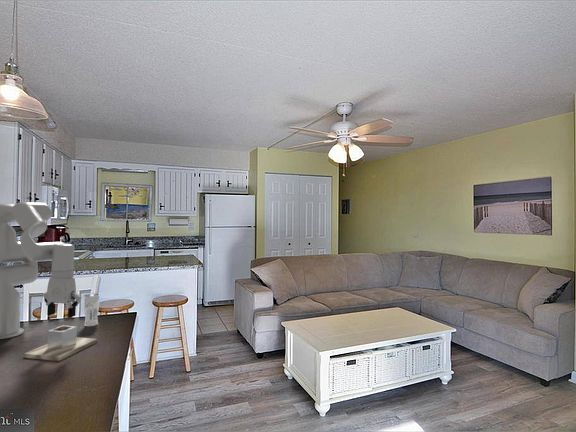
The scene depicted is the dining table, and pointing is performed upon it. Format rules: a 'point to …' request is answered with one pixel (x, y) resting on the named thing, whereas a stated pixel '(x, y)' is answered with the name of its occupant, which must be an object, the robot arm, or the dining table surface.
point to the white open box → (62, 337)
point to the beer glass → (91, 309)
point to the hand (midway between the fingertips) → (61, 315)
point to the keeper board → (59, 354)
